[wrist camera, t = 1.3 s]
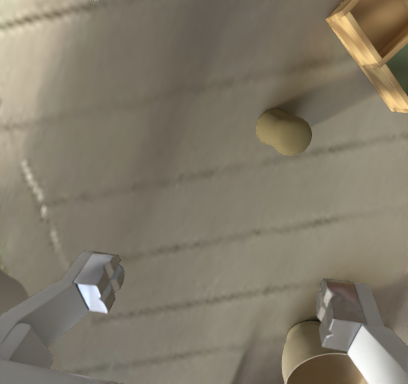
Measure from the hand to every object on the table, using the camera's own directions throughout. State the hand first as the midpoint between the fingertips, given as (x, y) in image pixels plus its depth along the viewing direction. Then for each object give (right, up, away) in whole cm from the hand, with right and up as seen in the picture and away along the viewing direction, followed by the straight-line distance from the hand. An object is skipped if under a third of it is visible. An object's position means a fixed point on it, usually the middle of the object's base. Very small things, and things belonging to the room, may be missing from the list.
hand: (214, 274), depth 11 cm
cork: (+11, +14, +35) cm, 39 cm away
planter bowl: (+23, -29, +51) cm, 63 cm away
